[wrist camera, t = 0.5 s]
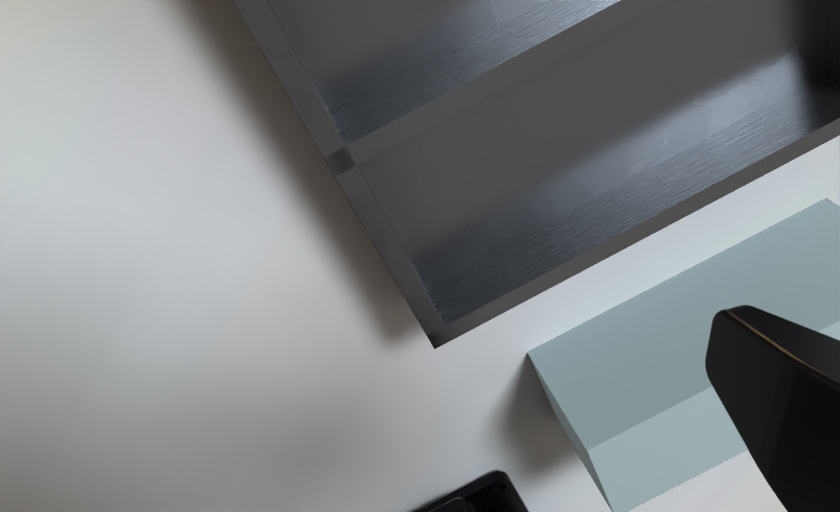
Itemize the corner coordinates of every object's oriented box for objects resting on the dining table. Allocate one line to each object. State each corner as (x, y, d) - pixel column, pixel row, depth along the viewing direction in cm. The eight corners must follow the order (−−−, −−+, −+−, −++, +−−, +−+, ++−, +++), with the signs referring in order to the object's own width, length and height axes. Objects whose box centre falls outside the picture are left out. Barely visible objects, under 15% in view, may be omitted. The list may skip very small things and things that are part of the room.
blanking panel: (822, 195, 28) (934, 271, 24) (829, 273, 31) (931, 354, 27) (525, 348, 28) (587, 450, 24) (554, 415, 31) (615, 517, 27)
